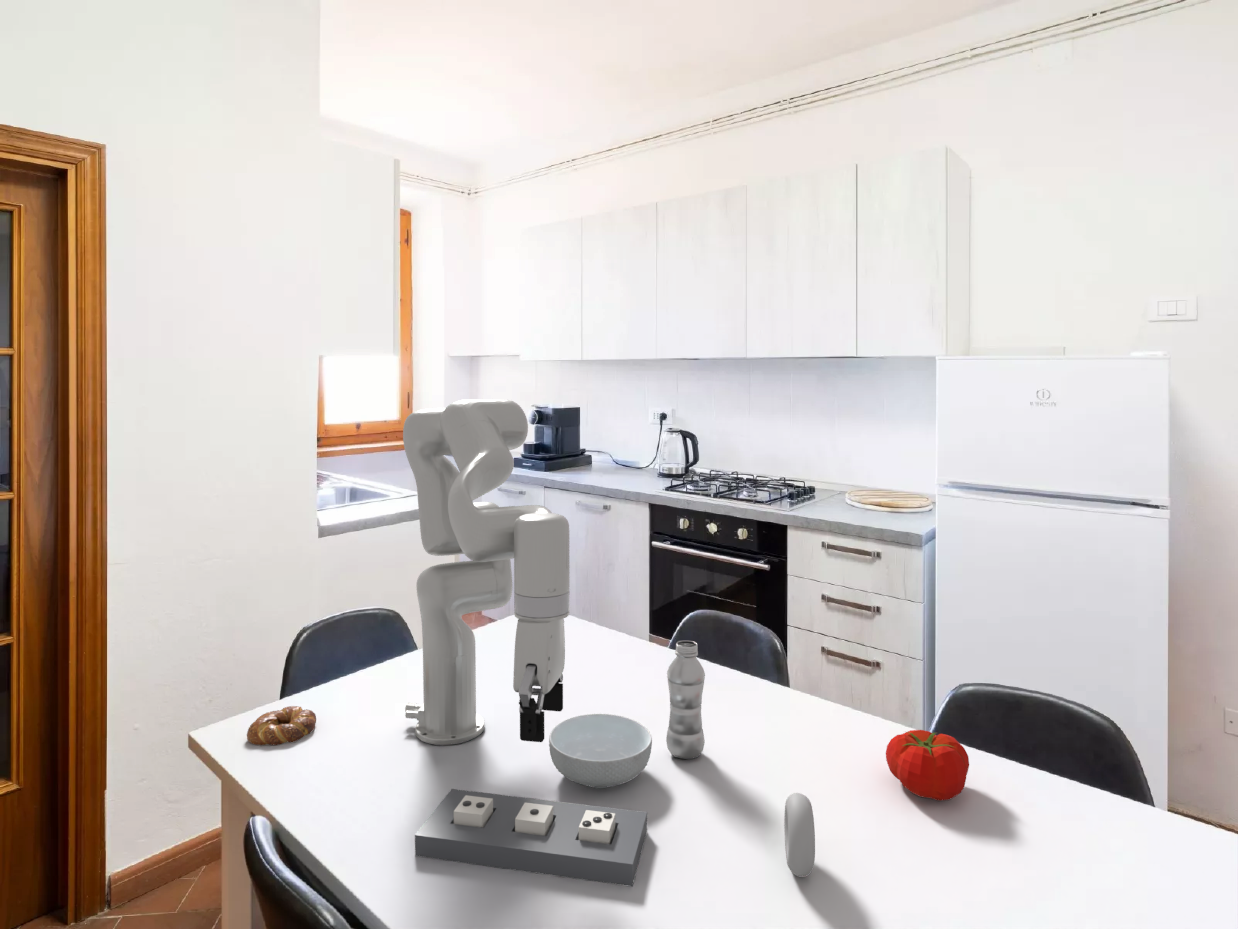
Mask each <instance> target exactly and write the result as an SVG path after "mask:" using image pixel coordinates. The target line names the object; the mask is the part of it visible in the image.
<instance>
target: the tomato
mask: <svg viewBox="0 0 1238 929" xmlns="http://www.w3.org/2000/svg"><path fill="white" fill-rule="evenodd" d="M903 732H904V733H901V734H896V735H895V736H894V737H893V738H891V739H890V740H889V742H888V744H887V745H886V750H885V760H886V763H887V766H888V769H889V771H890V773H891V774H892V775H893V777H895V778H896V779H897V780H899V782H900V783H901V785H902V786H903V787H904V788H905V789H907V790H908V791H910V793H912V794H913V795H916V796H918V797H921V798H927V799H931V800H935V801H939V802H941V801H949V800H951V799H953V798H955V797H956V796H958V795H959V794H961V793H962V792H963V790H964V788H965V784H966V782H967V781H966V780H967V776H968V772H969V768H970V759H969V755H968V753H967V751H966V749H965V747H964V746H963V745H962V744H961V743H960V742H959V741H958V740H957V739H956V738H955V737H954V736H951V735H948V734H945V733H938V734H936V732H931V731H929V730H923V729H912V730H907V731H903Z"/></svg>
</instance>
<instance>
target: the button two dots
mask: <svg viewBox="0 0 1238 929" xmlns="http://www.w3.org/2000/svg"><path fill="white" fill-rule="evenodd" d="M492 814H493V799H492V798H484V797H476V796H468V795H465V797H464V798H463V799H462V801H461V802H460V803H459V805H458V806H457V807H456V809H455V810H454V824H458V825H466V826H473V827H481V828H484V827H485V825H486V824H487V822H488V821H489V819H490V817H491V816H492Z"/></svg>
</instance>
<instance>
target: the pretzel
mask: <svg viewBox="0 0 1238 929" xmlns="http://www.w3.org/2000/svg"><path fill="white" fill-rule="evenodd" d="M316 716H317V715H316V713H315V712H314V711H313V710H312V709H311V710H310V709H303V708H302V706H295V705H291V706H286V707H285V706H284V707H283V708H282V709H281V710H278V709H277V710H272V711H269V712H265V713H262V714H261V715H260V716H259V717H257V718H256V720H254V721H253V722H252V723H251V724H250V726H249V727H248V729H247V732H246V737H247V738H246V739H247V741H248V742H249V743H250V744H252V745H255V746H266V745H270V746H280V745H283V744H286V743H296V742H298V741H300V740H301V739H303V738H304V737H305V736H308V735H310V734H311V733H312V732H314V730H315V728H316V724H317V717H316Z"/></svg>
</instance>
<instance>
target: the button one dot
mask: <svg viewBox="0 0 1238 929" xmlns="http://www.w3.org/2000/svg"><path fill="white" fill-rule="evenodd" d="M552 823H553V806H550V805H542V804H533V803H524V805H523V806H522V808H521V810H520V812H519V813H518V815H517V817H516V818H515V832H520V833H527V834H535V835H543V836H546V835H547V833H548V831H549V829H550V827H551V825H552Z"/></svg>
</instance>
